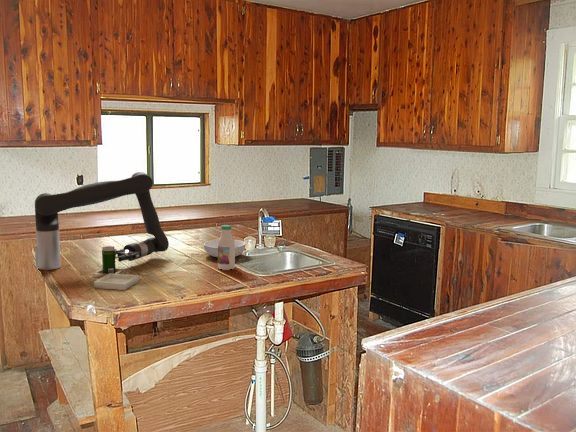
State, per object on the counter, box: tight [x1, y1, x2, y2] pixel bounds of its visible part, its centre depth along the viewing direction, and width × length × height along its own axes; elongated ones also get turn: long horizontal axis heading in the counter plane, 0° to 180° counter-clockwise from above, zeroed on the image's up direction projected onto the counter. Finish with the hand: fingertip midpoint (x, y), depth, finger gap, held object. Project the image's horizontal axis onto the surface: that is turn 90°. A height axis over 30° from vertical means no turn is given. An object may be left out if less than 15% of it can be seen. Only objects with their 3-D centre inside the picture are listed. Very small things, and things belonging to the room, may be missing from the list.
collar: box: [92, 268, 126, 279], centre depth 235 cm, size 10×10×2 cm
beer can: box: [101, 245, 117, 274], centre depth 234 cm, size 5×5×12 cm
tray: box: [93, 273, 140, 291], centre depth 221 cm, size 13×13×2 cm
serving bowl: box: [203, 238, 247, 258], centre depth 273 cm, size 21×21×7 cm
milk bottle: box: [217, 224, 236, 271], centre depth 248 cm, size 8×8×20 cm
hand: (111, 258), depth 235 cm, fingers open, 8 cm apart
